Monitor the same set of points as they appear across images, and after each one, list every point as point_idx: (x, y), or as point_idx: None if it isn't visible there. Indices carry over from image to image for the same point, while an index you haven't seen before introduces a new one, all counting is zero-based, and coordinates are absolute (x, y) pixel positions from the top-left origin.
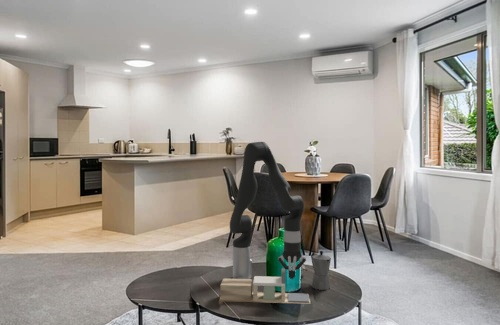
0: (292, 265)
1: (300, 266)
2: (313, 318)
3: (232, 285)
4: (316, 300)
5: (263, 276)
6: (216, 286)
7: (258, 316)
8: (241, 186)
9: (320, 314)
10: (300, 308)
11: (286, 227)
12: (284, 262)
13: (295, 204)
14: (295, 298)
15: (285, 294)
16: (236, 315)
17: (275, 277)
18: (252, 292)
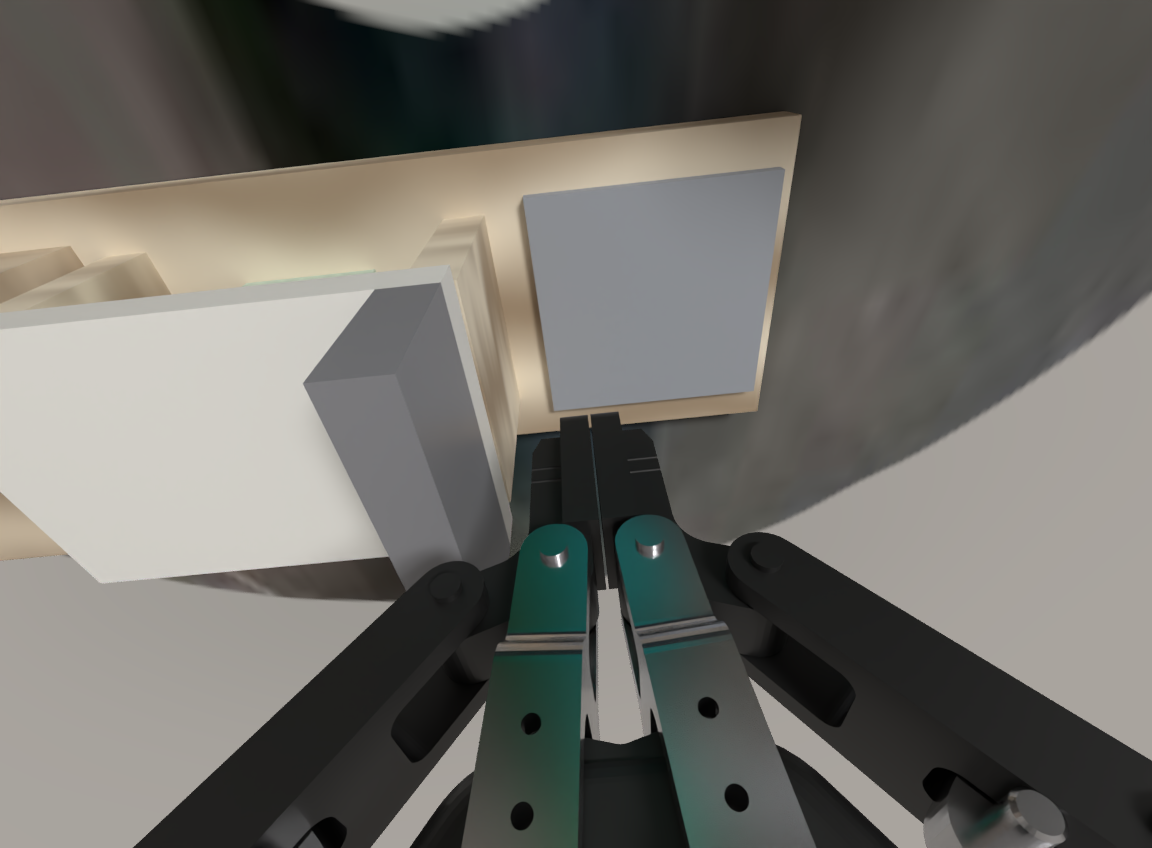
0: (629, 613)
1: (829, 680)
2: (731, 539)
3: None
4: (852, 217)
5: (23, 334)
6: None
7: (383, 571)
8: None
9: (793, 487)
10: (658, 426)
11: None
12: (382, 718)
13: None
14: (622, 348)
15: (494, 213)
16: (244, 582)
17: (276, 345)
18: (57, 222)
